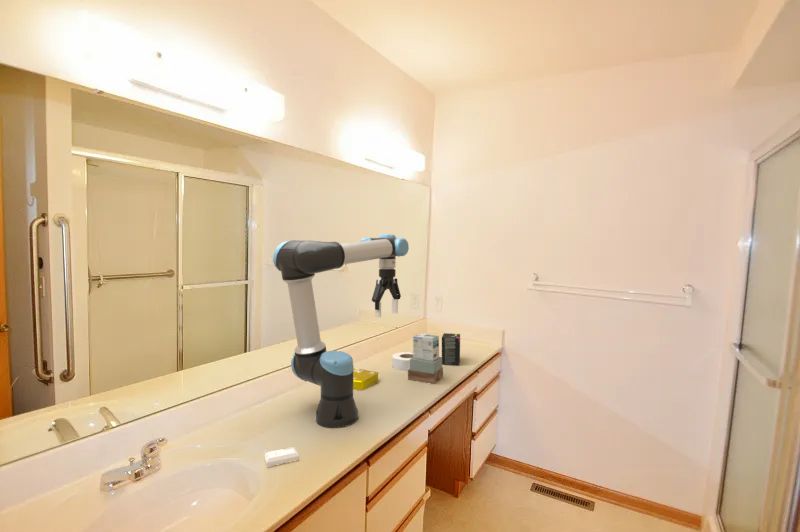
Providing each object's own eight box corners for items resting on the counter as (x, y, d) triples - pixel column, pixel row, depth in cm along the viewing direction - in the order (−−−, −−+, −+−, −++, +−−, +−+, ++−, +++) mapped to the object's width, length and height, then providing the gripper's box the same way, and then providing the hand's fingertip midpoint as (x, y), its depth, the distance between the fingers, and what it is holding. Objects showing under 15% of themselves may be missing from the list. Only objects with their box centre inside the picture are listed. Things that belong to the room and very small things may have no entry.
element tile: (333, 385, 181) (333, 375, 180) (353, 376, 194) (353, 366, 194) (361, 391, 174) (361, 380, 173) (379, 381, 187) (379, 371, 187)
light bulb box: (439, 357, 189) (439, 335, 188) (433, 361, 183) (433, 338, 183) (419, 354, 195) (419, 332, 194) (412, 358, 189) (412, 335, 188)
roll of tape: (400, 360, 220) (400, 350, 219) (427, 364, 213) (427, 353, 212) (386, 368, 206) (386, 357, 205) (415, 372, 199) (415, 361, 198)
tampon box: (459, 366, 209) (459, 338, 208) (441, 365, 211) (441, 337, 210) (460, 360, 220) (460, 333, 219) (443, 359, 222) (443, 332, 221)
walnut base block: (434, 385, 182) (434, 374, 181) (407, 380, 188) (407, 370, 187) (442, 377, 192) (442, 367, 191) (417, 373, 197) (417, 363, 197)
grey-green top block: (433, 373, 182) (433, 362, 182) (409, 369, 188) (409, 359, 187) (442, 367, 191) (442, 357, 191) (418, 364, 196) (418, 354, 196)
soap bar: (264, 460, 118) (264, 451, 118) (295, 453, 122) (295, 445, 122) (266, 469, 114) (266, 459, 114) (298, 461, 118) (298, 453, 118)
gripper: (378, 269, 171) (377, 319, 172) (408, 267, 192) (407, 312, 193) (364, 269, 175) (363, 317, 176) (395, 267, 196) (394, 310, 197)
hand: (386, 315), depth 184 cm, fingers open, 13 cm apart
